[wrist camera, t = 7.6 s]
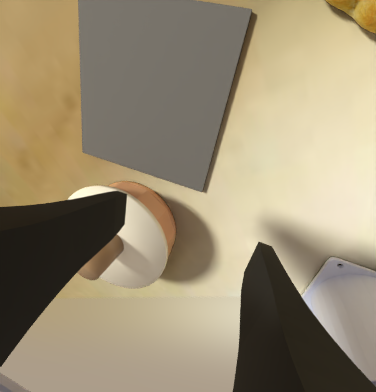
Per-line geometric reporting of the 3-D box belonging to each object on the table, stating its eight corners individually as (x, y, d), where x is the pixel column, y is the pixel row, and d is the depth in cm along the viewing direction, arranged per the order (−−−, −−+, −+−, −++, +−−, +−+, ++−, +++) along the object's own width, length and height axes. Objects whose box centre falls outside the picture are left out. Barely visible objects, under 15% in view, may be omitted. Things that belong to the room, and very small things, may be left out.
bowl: (184, 199, 21) (170, 217, 18) (167, 271, 26) (154, 296, 23) (97, 169, 23) (68, 180, 20) (96, 241, 28) (74, 260, 25)
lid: (177, 208, 17) (156, 235, 14) (159, 299, 23) (141, 335, 19) (62, 169, 20) (17, 183, 16) (70, 260, 25) (39, 286, 21)
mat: (252, 11, 14) (251, 9, 14) (202, 190, 20) (201, 192, 20) (81, -15, 16) (77, -18, 16) (85, 151, 23) (82, 152, 22)
